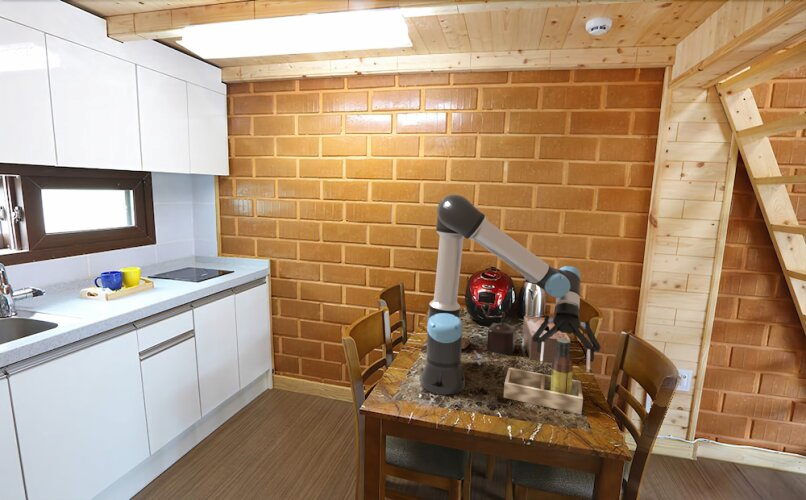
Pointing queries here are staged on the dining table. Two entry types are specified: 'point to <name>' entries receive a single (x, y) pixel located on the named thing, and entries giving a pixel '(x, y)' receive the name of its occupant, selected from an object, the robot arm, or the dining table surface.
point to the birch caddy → (541, 391)
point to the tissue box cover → (530, 329)
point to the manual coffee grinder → (500, 335)
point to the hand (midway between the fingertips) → (564, 366)
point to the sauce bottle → (562, 368)
